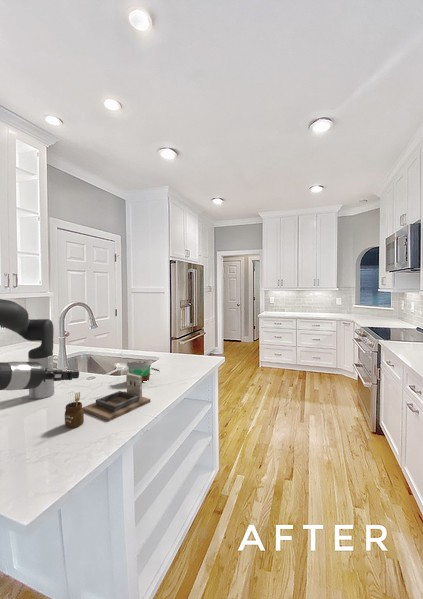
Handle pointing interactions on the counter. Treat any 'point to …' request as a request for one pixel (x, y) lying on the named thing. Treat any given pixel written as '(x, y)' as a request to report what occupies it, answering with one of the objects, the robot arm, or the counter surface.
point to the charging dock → (119, 400)
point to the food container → (140, 369)
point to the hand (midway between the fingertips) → (68, 374)
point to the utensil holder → (74, 413)
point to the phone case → (156, 371)
